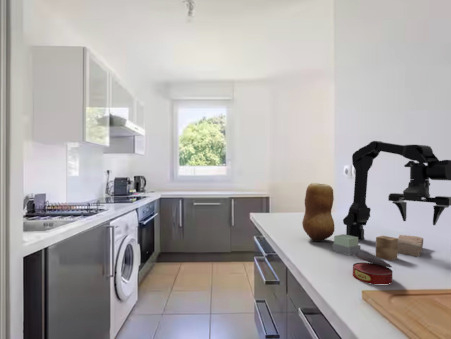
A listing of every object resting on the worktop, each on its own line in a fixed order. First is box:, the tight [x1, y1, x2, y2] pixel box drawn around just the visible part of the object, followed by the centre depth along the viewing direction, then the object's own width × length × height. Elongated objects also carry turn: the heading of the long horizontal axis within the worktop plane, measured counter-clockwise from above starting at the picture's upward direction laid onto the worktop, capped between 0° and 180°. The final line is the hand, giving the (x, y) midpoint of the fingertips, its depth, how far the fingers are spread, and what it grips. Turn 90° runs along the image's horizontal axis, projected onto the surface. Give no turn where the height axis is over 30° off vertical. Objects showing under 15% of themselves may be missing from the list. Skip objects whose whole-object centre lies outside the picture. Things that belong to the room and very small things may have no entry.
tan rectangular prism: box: [375, 235, 398, 261], centre depth 99 cm, size 5×5×7 cm
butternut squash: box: [301, 182, 335, 242], centre depth 123 cm, size 14×13×25 cm
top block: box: [333, 233, 359, 247], centre depth 106 cm, size 6×6×3 cm
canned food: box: [352, 248, 393, 285], centre depth 79 cm, size 11×10×10 cm
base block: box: [332, 243, 361, 256], centre depth 106 cm, size 7×7×3 cm
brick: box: [397, 234, 424, 257], centre depth 110 cm, size 17×8×5 cm, turn 142°
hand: (418, 223), depth 101 cm, fingers open, 9 cm apart
